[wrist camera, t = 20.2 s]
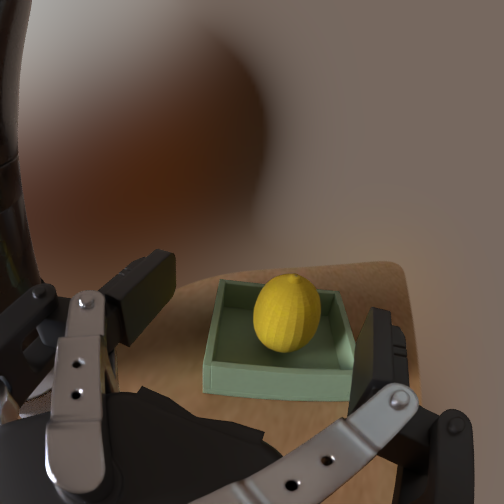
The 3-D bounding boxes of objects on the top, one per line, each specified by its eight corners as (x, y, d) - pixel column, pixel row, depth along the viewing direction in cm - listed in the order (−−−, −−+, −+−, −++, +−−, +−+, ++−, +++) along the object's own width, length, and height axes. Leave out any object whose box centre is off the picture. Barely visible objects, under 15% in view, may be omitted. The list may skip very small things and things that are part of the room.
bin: (202, 393, 23) (202, 365, 21) (218, 306, 33) (219, 278, 31) (349, 401, 24) (364, 375, 22) (330, 317, 33) (339, 290, 32)
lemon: (292, 380, 25) (315, 307, 21) (236, 352, 27) (245, 277, 23) (317, 342, 29) (340, 272, 25) (267, 320, 31) (280, 249, 27)
